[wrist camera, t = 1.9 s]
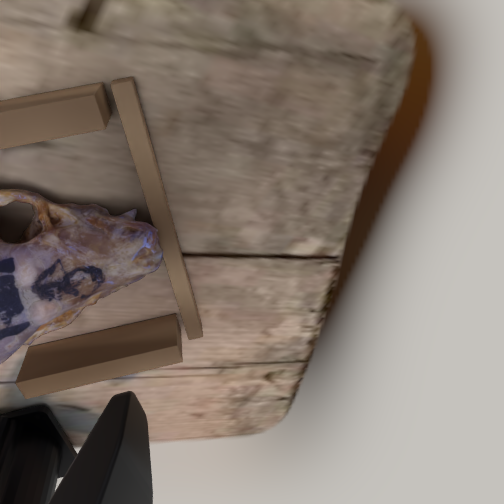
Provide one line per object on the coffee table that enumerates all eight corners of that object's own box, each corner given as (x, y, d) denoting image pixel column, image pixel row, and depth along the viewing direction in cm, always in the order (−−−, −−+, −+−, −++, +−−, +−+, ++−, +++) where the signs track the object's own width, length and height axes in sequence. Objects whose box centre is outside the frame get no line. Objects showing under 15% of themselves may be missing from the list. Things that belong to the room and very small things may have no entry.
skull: (159, 172, 19) (158, 238, 14) (169, 306, 23) (171, 395, 18) (-143, 180, 17) (-273, 260, 12) (-76, 325, 21) (-152, 431, 16)
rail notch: (201, 324, 24) (205, 356, 22) (37, 362, 23) (25, 399, 21) (132, 76, 17) (128, 88, 15) (-107, 120, 16) (-147, 139, 14)
